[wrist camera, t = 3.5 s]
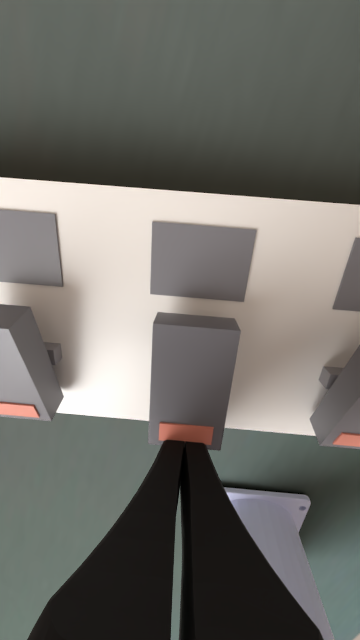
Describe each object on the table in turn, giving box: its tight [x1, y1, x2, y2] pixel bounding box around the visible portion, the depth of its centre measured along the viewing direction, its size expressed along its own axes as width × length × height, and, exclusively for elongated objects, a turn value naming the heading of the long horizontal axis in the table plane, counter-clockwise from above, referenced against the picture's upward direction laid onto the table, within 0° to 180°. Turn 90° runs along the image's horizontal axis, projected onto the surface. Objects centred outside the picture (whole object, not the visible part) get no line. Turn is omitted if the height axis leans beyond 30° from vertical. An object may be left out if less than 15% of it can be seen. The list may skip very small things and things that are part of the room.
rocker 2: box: [148, 312, 241, 450], centre depth 9 cm, size 5×3×1 cm, turn 176°
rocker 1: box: [0, 304, 64, 421], centre depth 9 cm, size 5×3×1 cm, turn 176°
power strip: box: [0, 177, 360, 436], centre depth 11 cm, size 10×28×4 cm, turn 86°
